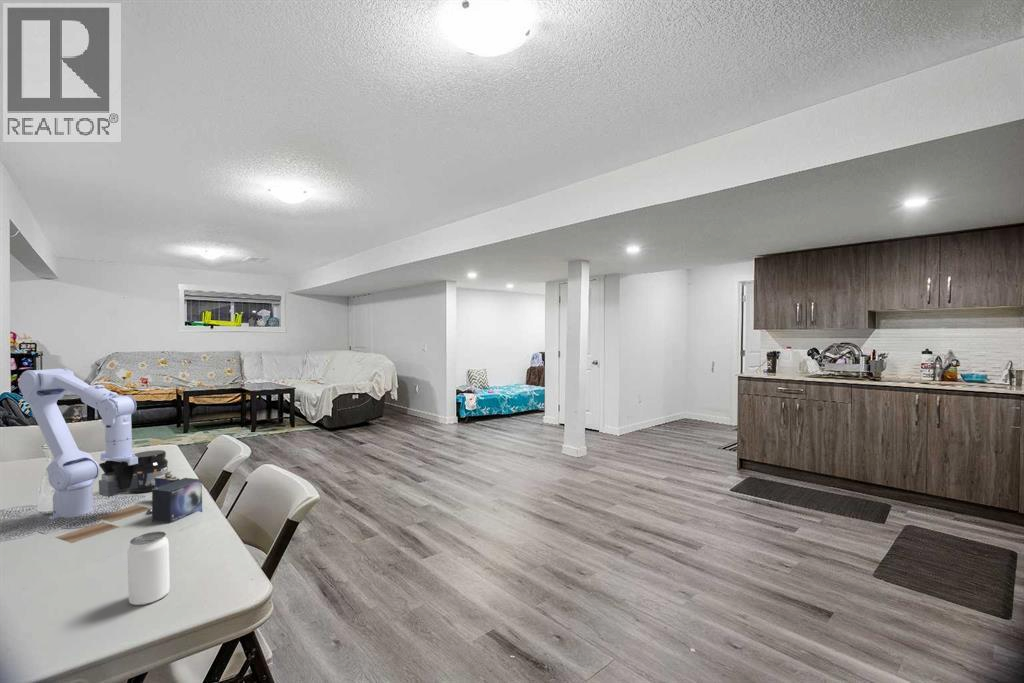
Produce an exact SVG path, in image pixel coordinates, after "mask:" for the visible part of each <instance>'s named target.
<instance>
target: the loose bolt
mask: <svg viewBox="0 0 1024 683" xmlns="http://www.w3.org/2000/svg"><path fill="white" fill-rule="evenodd" d="M145 515H146V516H150V515H152V508H151V509H149V510H148V511H145Z"/></svg>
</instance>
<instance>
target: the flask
mask: <svg viewBox="0 0 1024 683" xmlns="http://www.w3.org/2000/svg"><path fill="white" fill-rule="evenodd" d="M172 472H173V471H172V470H170V471H168V472H166V473H164V474H165V476H157V477H155V478H154V479H155V488H157V487H160V486H163V485H166V484H169V483H171V482H174V481H177V480H180V478H179V477H176V476H175V475H174V476H173V474H171V473H172Z"/></svg>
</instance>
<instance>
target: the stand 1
mask: <svg viewBox="0 0 1024 683" xmlns="http://www.w3.org/2000/svg"><path fill="white" fill-rule="evenodd" d="M119 528H120V526H118V525H114V524H112V523H108V522H105V521H102V522H98V523H95V524H93V525H90V526H87V527H84V528H83V527H82V528H81V529H77V530H73V531H70V532H67V533H65V534H62V535H57V536H55V537H54V538H56V539H59V540H62V541H65V542H68V543H71V544H73V543H76V542H80V541H82V540H85V539H88V538H92V537H93V536H97V535H101V534H104V533H107V532H109V531H113V530H116V529H119Z"/></svg>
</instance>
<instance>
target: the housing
mask: <svg viewBox="0 0 1024 683" xmlns="http://www.w3.org/2000/svg"><path fill="white" fill-rule="evenodd" d="M137 488H138V481H137V474H134V475H133V478H132V482H131V485H130V488H127V489H123V490H120V488H119V484H118V478H117V475H116V473H115V471H113V472H109V473H102V474H101V479H98V490H99V491H98V494H99V495H100V496H103V497H107V498H109V497H113V496H117V495H119V494H122V493H126V492H131V491H130V490H134V489H137Z"/></svg>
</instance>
